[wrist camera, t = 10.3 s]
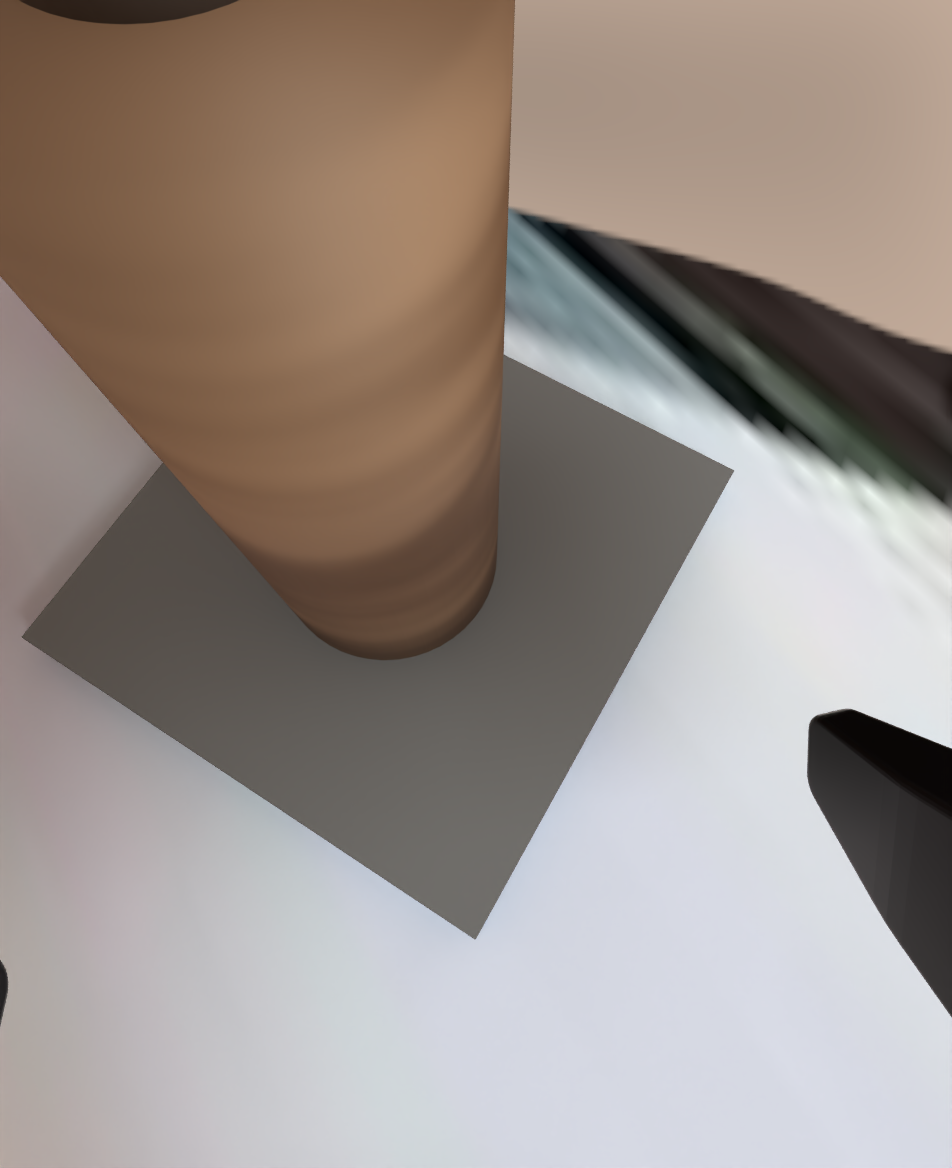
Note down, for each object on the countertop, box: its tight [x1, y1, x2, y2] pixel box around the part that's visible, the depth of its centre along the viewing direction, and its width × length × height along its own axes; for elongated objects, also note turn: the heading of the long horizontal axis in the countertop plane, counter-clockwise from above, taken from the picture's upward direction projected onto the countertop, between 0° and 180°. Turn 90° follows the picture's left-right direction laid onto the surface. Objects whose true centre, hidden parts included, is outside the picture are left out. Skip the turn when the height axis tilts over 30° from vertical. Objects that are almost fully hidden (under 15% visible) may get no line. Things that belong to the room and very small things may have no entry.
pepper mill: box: [0, 0, 515, 660], centre depth 11 cm, size 5×5×14 cm
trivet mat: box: [22, 355, 734, 939], centre depth 18 cm, size 12×12×1 cm
